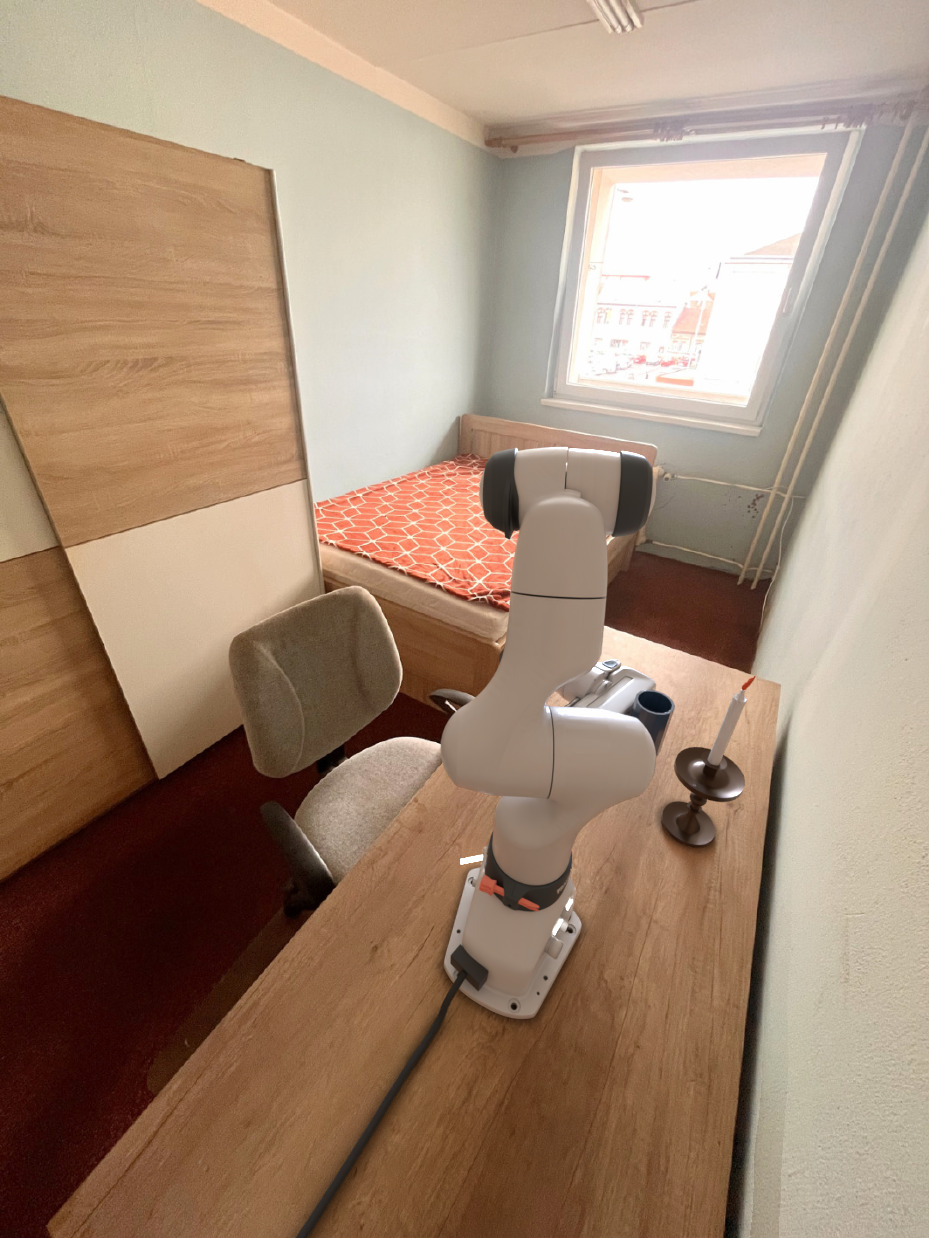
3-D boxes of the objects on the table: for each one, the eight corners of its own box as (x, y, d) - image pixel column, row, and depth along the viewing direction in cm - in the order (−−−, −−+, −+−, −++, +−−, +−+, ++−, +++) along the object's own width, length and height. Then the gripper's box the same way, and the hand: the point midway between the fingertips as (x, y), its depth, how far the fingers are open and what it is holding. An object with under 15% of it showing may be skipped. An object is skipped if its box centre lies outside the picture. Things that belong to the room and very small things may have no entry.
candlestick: (727, 824, 93) (800, 673, 74) (706, 864, 86) (780, 709, 67) (670, 790, 99) (724, 643, 80) (645, 826, 92) (698, 674, 73)
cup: (657, 764, 91) (672, 719, 85) (620, 751, 94) (632, 707, 88) (662, 740, 96) (676, 696, 90) (627, 729, 99) (639, 685, 93)
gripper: (558, 699, 92) (626, 740, 83) (619, 655, 104) (683, 687, 96) (554, 725, 95) (619, 767, 87) (613, 679, 107) (675, 712, 99)
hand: (653, 725), depth 91 cm, fingers closed on cup, 6 cm apart
